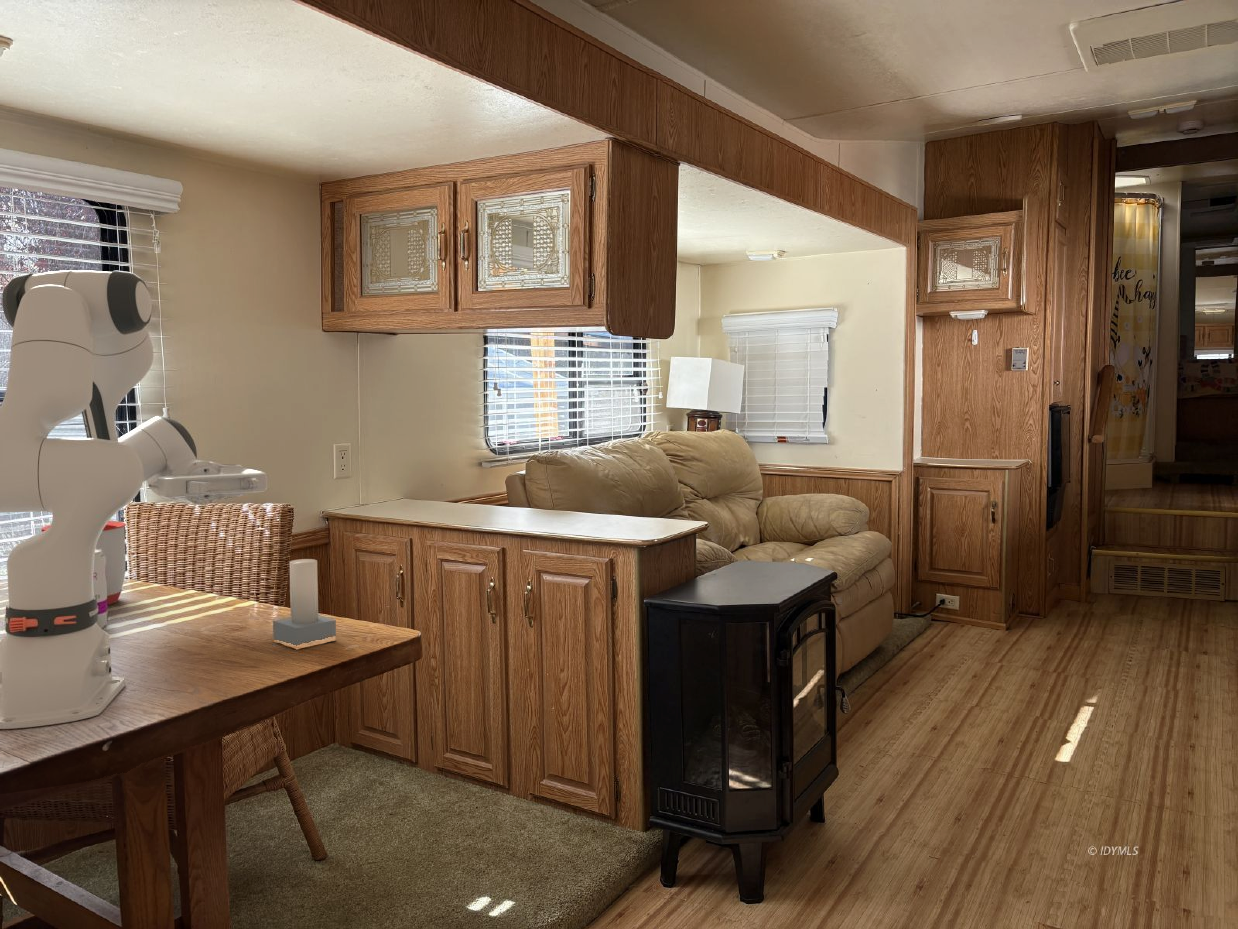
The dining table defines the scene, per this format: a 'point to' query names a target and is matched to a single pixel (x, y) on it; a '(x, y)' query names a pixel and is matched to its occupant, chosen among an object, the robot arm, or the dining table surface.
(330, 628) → the plinth
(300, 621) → the white pillar candle
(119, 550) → the citrus juicer
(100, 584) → the supplement can
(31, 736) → the dining table surface
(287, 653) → the dining table surface
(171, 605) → the dining table surface
